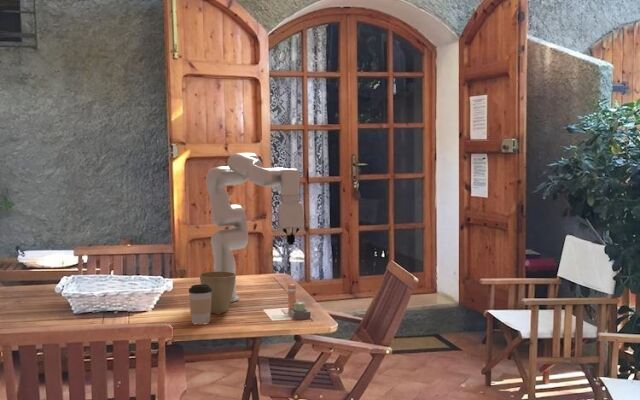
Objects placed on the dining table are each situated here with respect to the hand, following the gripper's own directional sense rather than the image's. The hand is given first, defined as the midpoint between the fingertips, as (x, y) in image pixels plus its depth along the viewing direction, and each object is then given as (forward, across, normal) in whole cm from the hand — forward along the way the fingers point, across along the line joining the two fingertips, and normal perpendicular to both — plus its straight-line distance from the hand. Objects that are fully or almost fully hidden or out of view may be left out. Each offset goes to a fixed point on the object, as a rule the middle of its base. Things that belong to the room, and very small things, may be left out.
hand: (290, 244), depth 302 cm
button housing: (+28, +2, -6) cm, 29 cm away
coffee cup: (+29, -37, -1) cm, 47 cm away
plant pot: (+29, -28, +15) cm, 43 cm away
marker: (+28, +1, +4) cm, 29 cm away
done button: (+28, +2, -6) cm, 29 cm away
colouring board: (+29, -2, +1) cm, 29 cm away
